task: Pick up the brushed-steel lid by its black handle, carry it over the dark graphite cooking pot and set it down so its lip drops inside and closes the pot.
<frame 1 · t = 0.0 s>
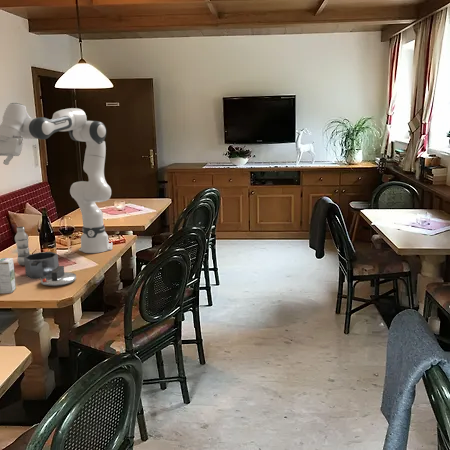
pot: (42, 273, 247), on the table
syrup box: (7, 291, 224), on the table
plastic bottle: (24, 265, 263), on the table
lid: (58, 282, 234), on the table
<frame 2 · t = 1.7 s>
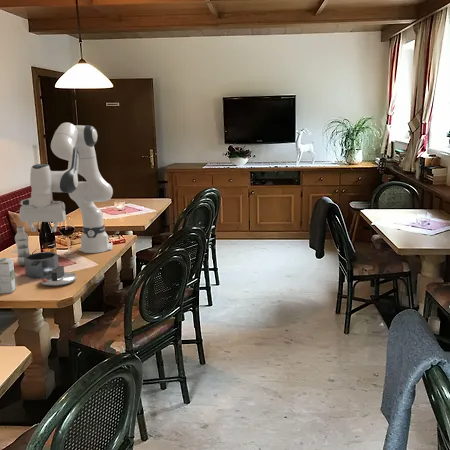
hand: (43, 231, 228), 24 cm above the table, tool pointing down, fingers open, 8 cm apart
nothing on the table moved.
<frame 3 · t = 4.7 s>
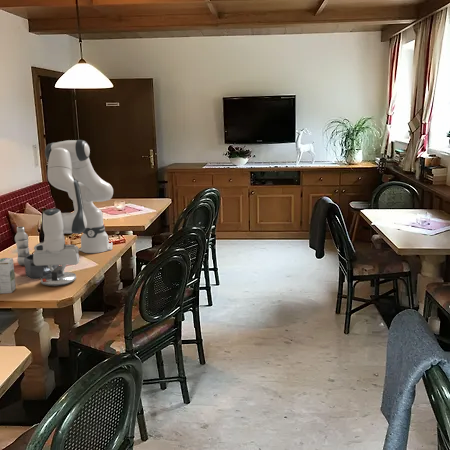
hand: (58, 274, 234), 4 cm above the table, tool pointing down, fingers closed on lid, 2 cm apart
lid: (58, 282, 234), on the table, touching gripper
everything else where it was.
when the fingers open (13 cm above the table, at t = 9.9 s): lid stays where it is, resting on pot.
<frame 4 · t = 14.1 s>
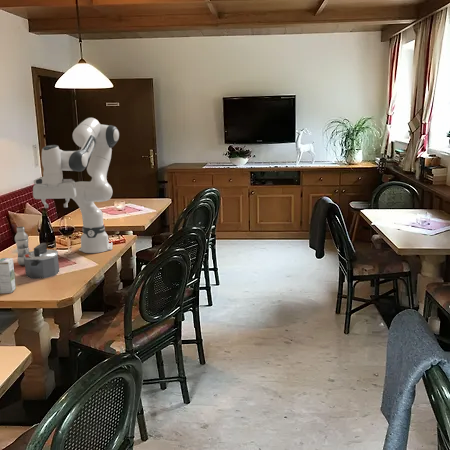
hand: (56, 207, 248), 31 cm above the table, tool pointing down, fingers open, 8 cm apart
lid: (41, 258, 246), point 8 cm above the table, touching pot
everything else where it was.
at the end: lid 0.1 cm off-centre on the pot, point 7.8 cm above the pot's base; lid tilted 0°; the gripper is holding nothing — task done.
